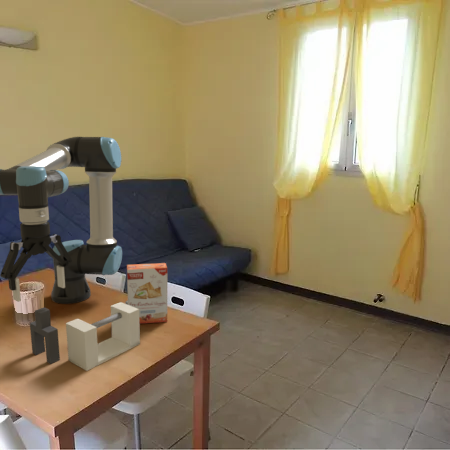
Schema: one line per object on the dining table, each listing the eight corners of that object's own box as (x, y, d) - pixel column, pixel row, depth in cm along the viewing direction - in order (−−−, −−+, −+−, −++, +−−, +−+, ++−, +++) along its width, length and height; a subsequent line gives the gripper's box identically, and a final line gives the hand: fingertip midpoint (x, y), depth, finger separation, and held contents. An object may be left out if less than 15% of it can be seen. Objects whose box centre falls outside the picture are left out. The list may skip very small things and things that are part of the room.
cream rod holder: (68, 360, 123) (65, 323, 121) (121, 335, 139) (120, 302, 136) (86, 370, 118) (84, 332, 115) (140, 343, 134) (139, 309, 131)
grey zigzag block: (32, 353, 127) (28, 307, 124) (41, 349, 129) (37, 304, 126) (50, 364, 121) (46, 316, 118) (59, 359, 123) (56, 313, 120)
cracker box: (128, 325, 146) (126, 269, 141) (128, 318, 152) (126, 263, 147) (168, 322, 149) (167, 267, 145) (166, 315, 155) (166, 261, 150)
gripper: (-5, 231, 104) (2, 310, 108) (81, 217, 124) (85, 284, 128) (-19, 227, 108) (-11, 302, 113) (67, 214, 128) (70, 279, 132)
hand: (40, 293), depth 120 cm, fingers open, 13 cm apart
